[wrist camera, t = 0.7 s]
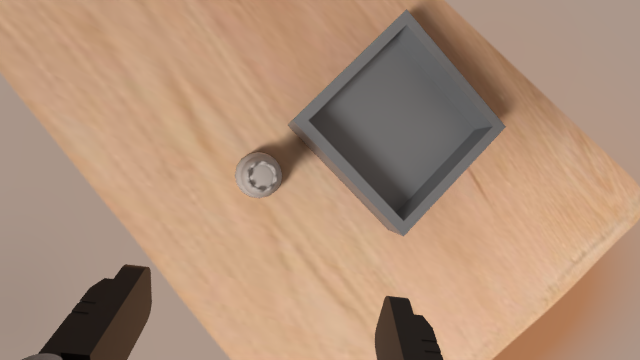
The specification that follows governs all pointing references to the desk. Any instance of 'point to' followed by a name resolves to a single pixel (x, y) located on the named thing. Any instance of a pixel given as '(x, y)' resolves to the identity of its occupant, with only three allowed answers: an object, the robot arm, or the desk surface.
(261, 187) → the rook chess piece
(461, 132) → the tray
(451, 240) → the desk surface
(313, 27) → the desk surface
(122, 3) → the desk surface
